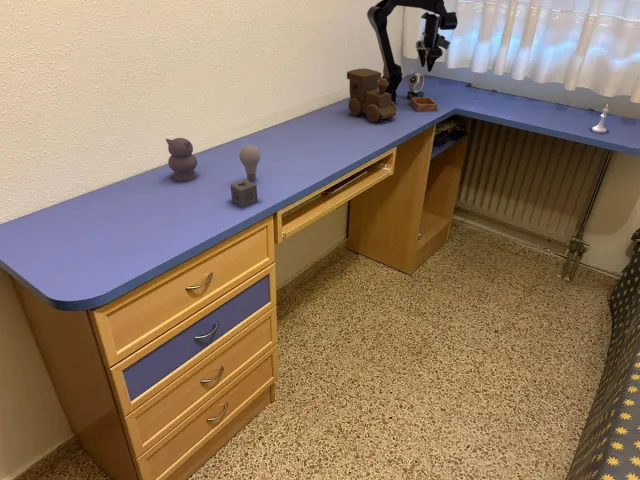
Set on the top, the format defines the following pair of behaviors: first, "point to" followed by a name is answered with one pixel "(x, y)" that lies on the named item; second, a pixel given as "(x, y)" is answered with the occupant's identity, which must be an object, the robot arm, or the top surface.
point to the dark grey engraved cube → (244, 193)
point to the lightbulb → (250, 160)
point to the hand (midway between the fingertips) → (426, 69)
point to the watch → (413, 82)
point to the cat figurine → (181, 159)
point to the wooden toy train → (369, 95)
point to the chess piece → (601, 122)
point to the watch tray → (423, 104)
